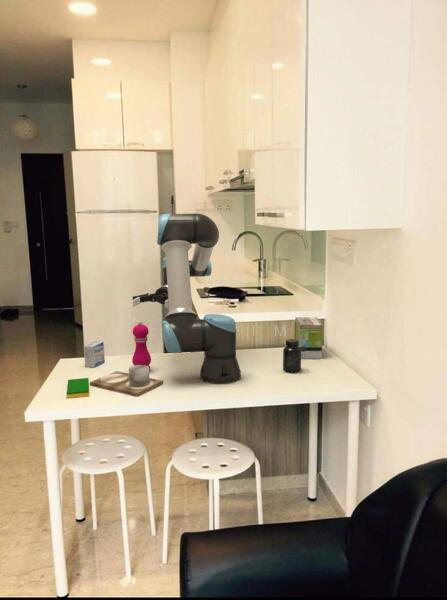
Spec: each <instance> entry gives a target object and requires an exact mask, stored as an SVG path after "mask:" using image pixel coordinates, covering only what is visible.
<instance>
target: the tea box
mask: <svg viewBox="0 0 447 600" xmlns="http://www.w3.org/2000/svg"><path fill="white" fill-rule="evenodd" d="M323 334H324V324H323V323H322V321H321V320H320V319H319V318H318V317H313V316H312V317H307V316H306V317H304V316H303V317H299V316H297V317H295V318H294V339H296V340H298V341H299V346H298V347H299V348H300V349H301V360H302V359H303V360H309V359H310V360H316V359H318V360H320V359H321V360H322V358H323V338H324V335H323Z"/></svg>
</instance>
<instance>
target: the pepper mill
mask: <svg viewBox="0 0 447 600" xmlns="http://www.w3.org/2000/svg"><path fill="white" fill-rule="evenodd" d="M148 334H149V328H148V326H146V325H145V324H143V321H142V320H138V321H137V324H136V325H135V326H134V327H133V328H132V335H133V336H134V339H133V340H134V342H135V349H134V352H133V355H132V358H131V362H132V364H133V366H135V365H146V366H148V367H149V373H150V372H151V366H150V364H151V363H152V356H151V354H150V352H149V350H148V347H147V342H148Z"/></svg>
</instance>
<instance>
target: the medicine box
mask: <svg viewBox="0 0 447 600" xmlns="http://www.w3.org/2000/svg"><path fill="white" fill-rule="evenodd" d="M83 355H84V366H85V367H86V368H97V367H98V366H100V365H102V364H103V363H105V346H104V341H98V340H97V341H93V342H91V343H88V344H87V345H83Z"/></svg>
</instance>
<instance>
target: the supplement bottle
mask: <svg viewBox="0 0 447 600" xmlns="http://www.w3.org/2000/svg"><path fill="white" fill-rule="evenodd" d="M298 346H299V341H298V340H296V339H295V338H289V339H286V340H285V346H284V347H283V350H282V370H283V371H284V372H285V373H287V374H297V373H300V372H301V369H302V359H301V349H300V348H299V347H298Z"/></svg>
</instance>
